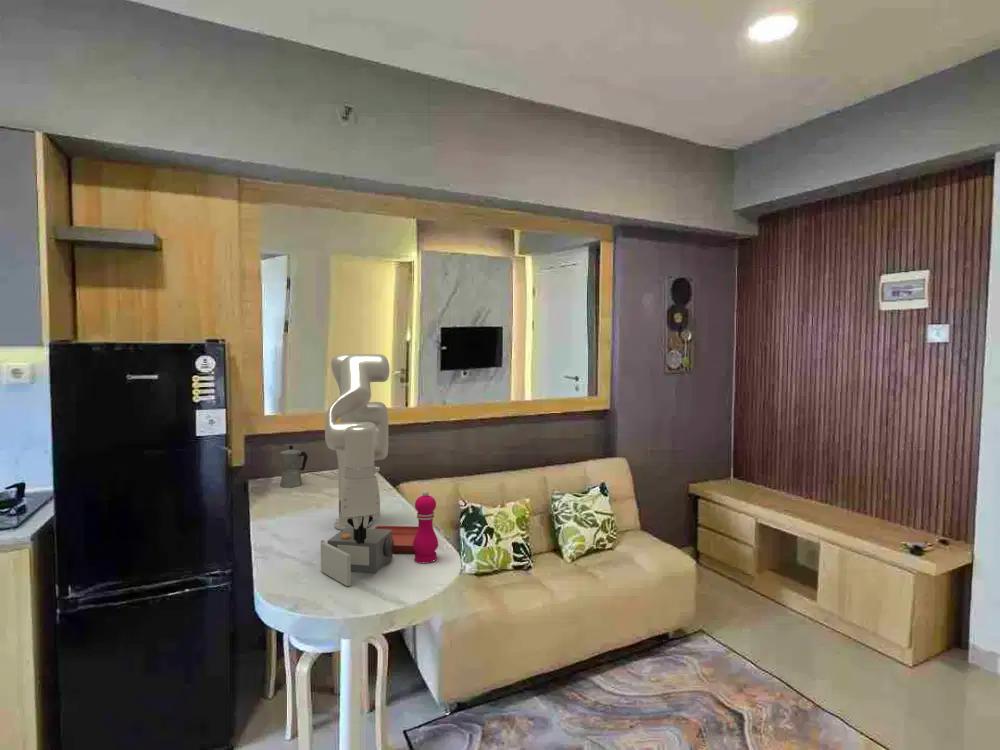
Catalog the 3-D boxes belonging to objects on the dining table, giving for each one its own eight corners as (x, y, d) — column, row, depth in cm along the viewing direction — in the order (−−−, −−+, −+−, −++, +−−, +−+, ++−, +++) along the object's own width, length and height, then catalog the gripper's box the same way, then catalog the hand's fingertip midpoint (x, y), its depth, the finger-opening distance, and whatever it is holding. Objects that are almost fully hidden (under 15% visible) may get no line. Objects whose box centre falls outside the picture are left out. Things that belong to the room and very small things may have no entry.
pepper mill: (414, 565, 154) (414, 494, 153) (411, 556, 161) (411, 488, 160) (440, 562, 156) (440, 492, 155) (435, 553, 163) (435, 486, 162)
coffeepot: (271, 486, 245) (271, 446, 244) (286, 482, 254) (286, 443, 253) (300, 489, 240) (299, 448, 239) (314, 484, 249) (314, 445, 248)
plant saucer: (431, 535, 181) (431, 525, 180) (424, 555, 162) (424, 544, 162) (376, 535, 180) (376, 525, 180) (362, 555, 162) (362, 544, 162)
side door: (323, 568, 151) (323, 540, 151) (352, 584, 140) (352, 554, 140) (318, 569, 150) (318, 541, 150) (347, 586, 139) (347, 555, 139)
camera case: (347, 553, 163) (346, 524, 162) (396, 557, 160) (396, 527, 160) (327, 569, 151) (327, 537, 150) (380, 573, 148) (380, 541, 148)
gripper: (383, 468, 152) (384, 534, 152) (327, 472, 145) (328, 542, 145) (391, 472, 145) (391, 542, 145) (332, 478, 138) (333, 551, 138)
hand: (359, 542), depth 145 cm, fingers closed
